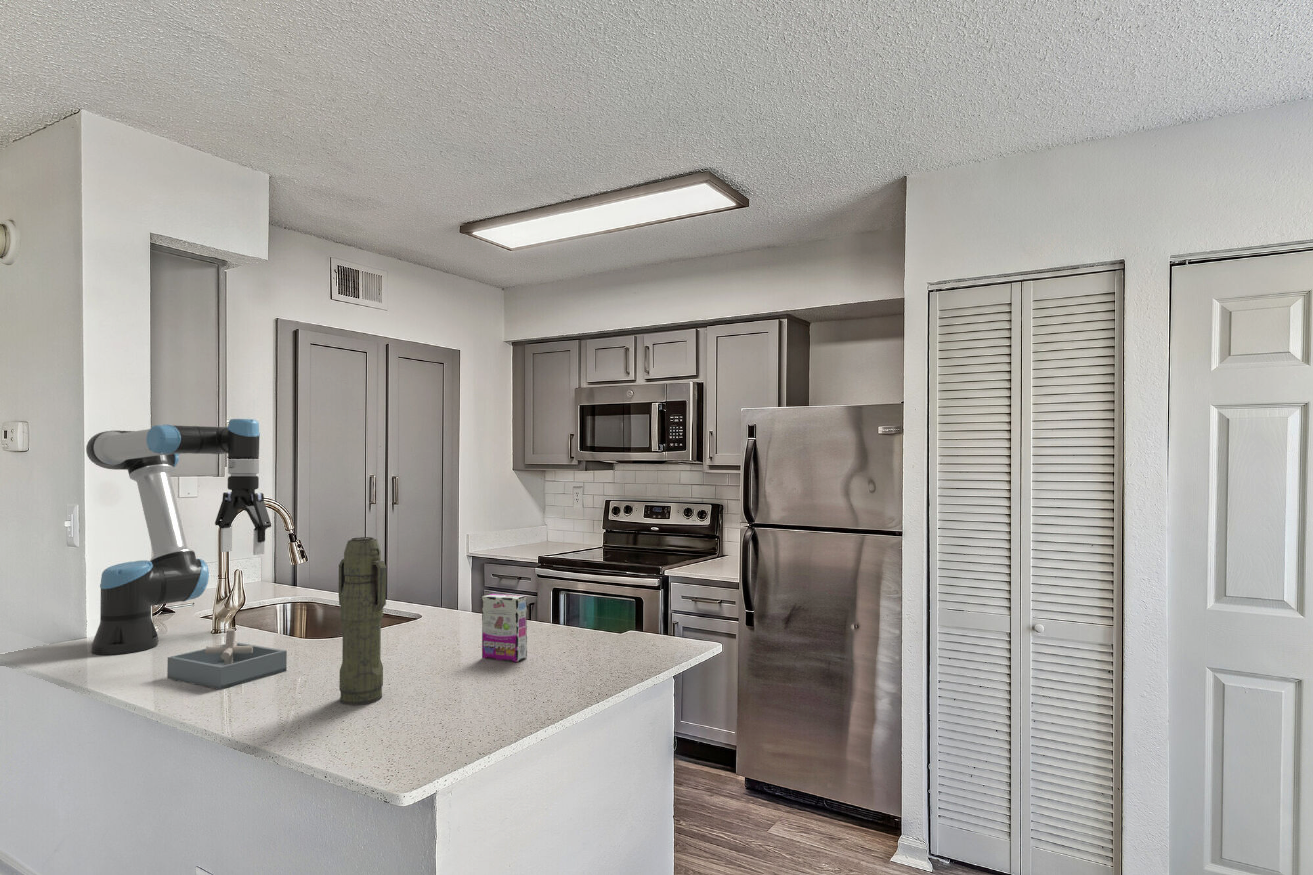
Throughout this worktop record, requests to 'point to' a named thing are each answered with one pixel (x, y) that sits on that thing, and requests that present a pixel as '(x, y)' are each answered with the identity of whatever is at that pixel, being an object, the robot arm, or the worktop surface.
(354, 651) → the thermos
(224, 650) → the pipe connector
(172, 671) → the bin
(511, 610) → the candy bar box
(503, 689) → the worktop surface
